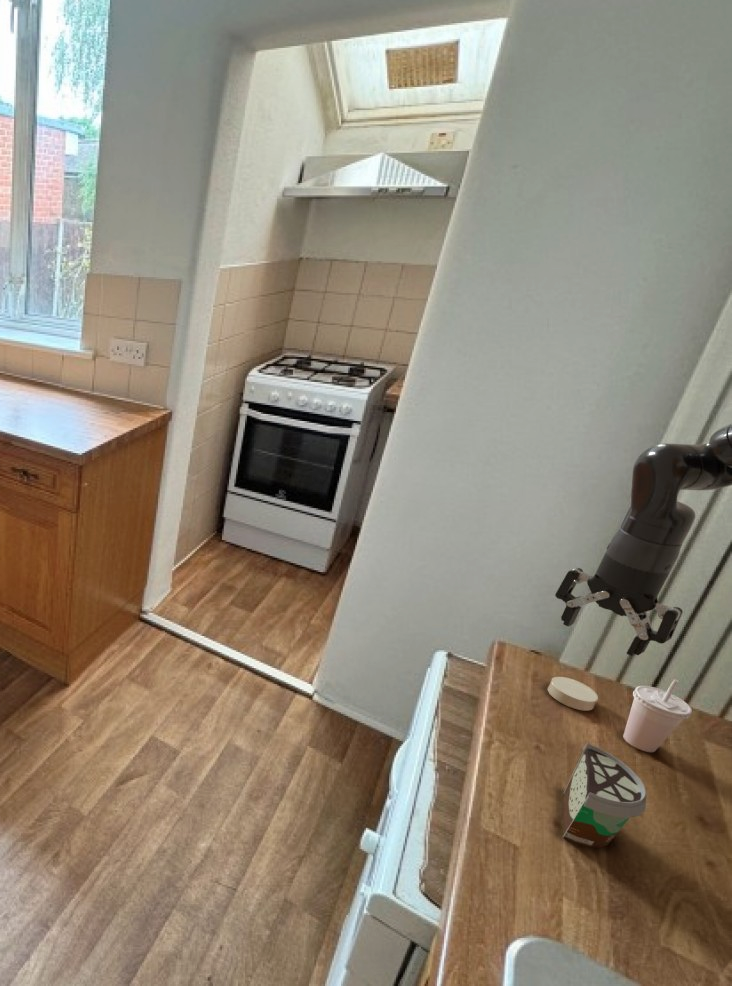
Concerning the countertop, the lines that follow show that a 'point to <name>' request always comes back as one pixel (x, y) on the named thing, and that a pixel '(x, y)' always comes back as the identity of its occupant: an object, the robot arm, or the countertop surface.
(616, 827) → the food container
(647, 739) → the smoothie
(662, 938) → the countertop surface
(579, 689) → the cream round lid
